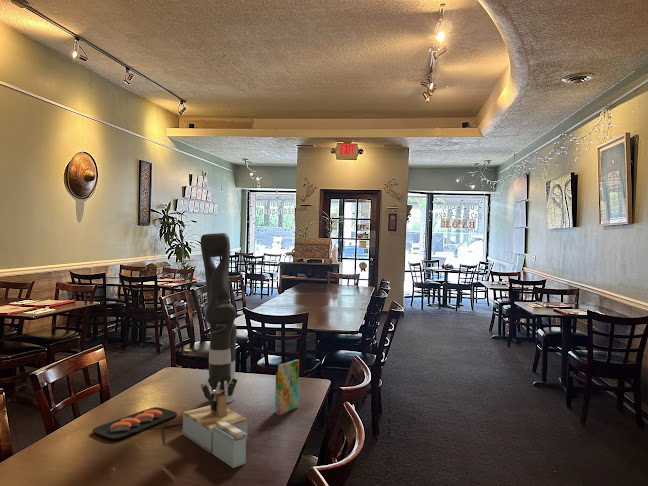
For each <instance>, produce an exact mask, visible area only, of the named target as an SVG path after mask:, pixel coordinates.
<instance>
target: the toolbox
mask: <svg viewBox="0 0 648 486" xmlns="http://www.w3.org/2000/svg"><path fill="white" fill-rule="evenodd" d="M182 423H183V425H182V435H183V436H184V437H186V438H188V439H189V440H190V441H192V442H193V443H195V444H196V445H197V446H199V447H201V448H202V449H204V450H205V451H206V452H208V453H209V454H212V455H214V456H215V457H217V458H218V459H219V460H220V461H222V462H224V463H225V464H227V465H228V466H230V467H231V468H232V469H234V468H238V467H240V466H243V465H246V459H247V458H246V454H247V453H246V452H247V451H246V449H247V443H248V432H249V431H248V428H249V423H248V420H247V422H244V423H240V424H237V425H233V426H234V427H236V428H238V429H239V430H241V431H243V438H241V439H238V440H235V437H233V436H231V435H230V434H228V433H226V432H225V431H223V430H221V429H220V428H218V427H216V426H213V432H211V431H209V430H208V429H206V428H205V427H203V426H201V425H200V424H198V423H196V422H195V421H193V420H192V419H190V418H188V417H187V416H185V415H184V414H182ZM230 425H231V424H230Z"/></svg>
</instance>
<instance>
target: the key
mask: <svg viewBox="0 0 648 486" xmlns="http://www.w3.org/2000/svg"><path fill="white" fill-rule="evenodd" d="M216 427H218V428H220V429H221V430H223V431H225V432H226V433H228V434H230V435H231V436H233V437H235V440H238V439H241V438H243V431H241V430H239V429H238V428H236V427H234V426H232V425H230V424H229V423H227V422H225V421H223V420H221V421H218V422H216Z"/></svg>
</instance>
